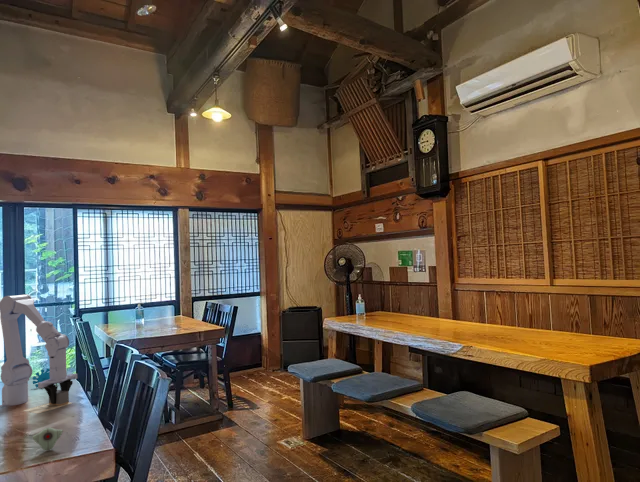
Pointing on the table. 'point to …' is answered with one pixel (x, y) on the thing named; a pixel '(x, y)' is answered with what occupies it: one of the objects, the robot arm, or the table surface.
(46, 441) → the robot head
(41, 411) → the plank
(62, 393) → the block
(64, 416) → the table surface
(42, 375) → the gear
